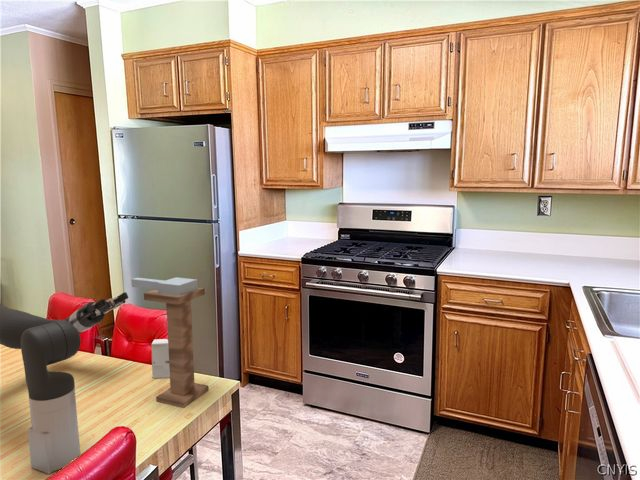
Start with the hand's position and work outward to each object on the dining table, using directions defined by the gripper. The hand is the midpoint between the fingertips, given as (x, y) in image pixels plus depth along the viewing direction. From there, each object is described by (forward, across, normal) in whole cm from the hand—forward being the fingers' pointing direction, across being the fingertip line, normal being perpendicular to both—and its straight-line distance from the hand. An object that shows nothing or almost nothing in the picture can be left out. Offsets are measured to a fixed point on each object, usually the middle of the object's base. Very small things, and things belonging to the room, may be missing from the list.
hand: (116, 298), depth 144 cm
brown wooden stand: (+7, 0, -36) cm, 37 cm away
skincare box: (-6, -9, -29) cm, 31 cm away
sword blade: (+19, 0, -5) cm, 19 cm away
